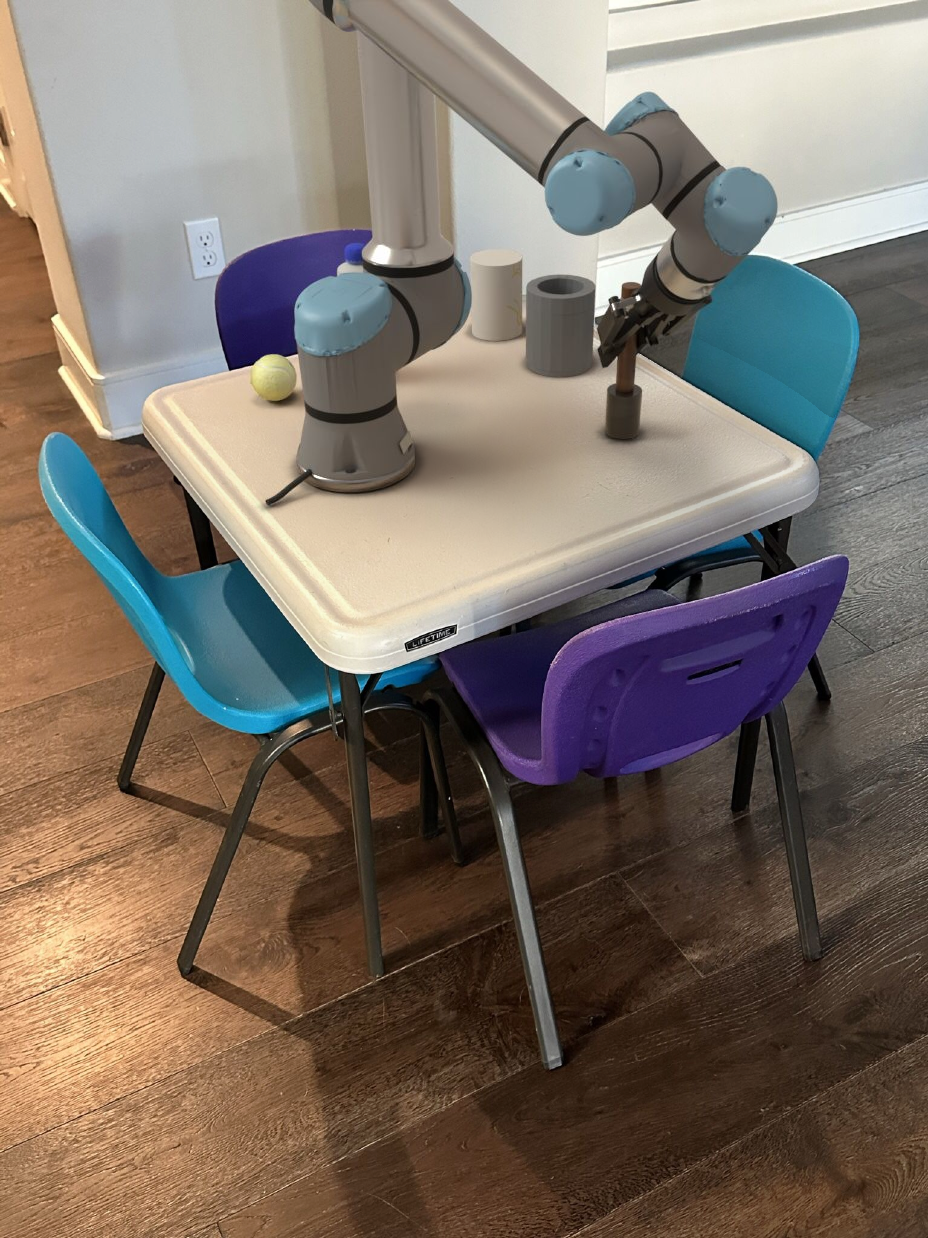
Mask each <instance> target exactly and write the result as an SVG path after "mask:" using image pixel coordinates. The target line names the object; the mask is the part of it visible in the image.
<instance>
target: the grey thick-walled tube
mask: <svg viewBox="0 0 928 1238" xmlns="http://www.w3.org/2000/svg"><path fill="white" fill-rule="evenodd" d="M596 286H597V285H596V284H595V283H594V281H593V280H591V279H589V278H587V277H583V276H580V275H575V274H557V273H556V274H547V275H543V276H539V277H536V278H534V279H530V280H529V281H528V282H527V283H526V287H525V288H526V289H525V365H526V367H527V368H528V369H529V370H530V371H531V372H532V373H535V374H536V375H541V376H545V377H551V378H566V377H574V376H578V375H581V374H583V373H586V372H587V371H590V369H591V368H592V366H593V358H594V356H593V355H594V335H595V334H594V332H595V312H596V311H595V310H596V309H595V307H596Z"/></svg>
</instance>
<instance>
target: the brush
mask: <svg viewBox="0 0 928 1238" xmlns="http://www.w3.org/2000/svg"><path fill="white" fill-rule="evenodd" d="M641 285H642V283H639V282H635V281H627V282H624V283H622V284H621V291H620V292H621V293H620V298H623V300H625V299H627V298H630V297H631V294H632V292H633V291H634V290H636V289H638V288H639V287H640V286H641ZM637 339H638V330H637V331H636V332H635V333H634V334H633V335H631V336H630V337H629V338H628V339H627V340H626V341H625V342H624V344H625V348H624V349H623V350H622V351H621V352H620V353H619V355H618V356H617V357H616V359H617V360H616V372H615V373H616V375H615V383H613V384H610V385H609V386H607V388H606V401H605V402H606V403H605V419H604V432H605V434H606V435H608V436H609V437H611V438H615V439H623V440H625V439H632V438H635V437H637V436H638V435H639V433H640V427H641V413H642V399H643V388H642V387H641V386H640V385H638V384H635V380H636V367H637V366H636V365H637V355H636V353H637Z"/></svg>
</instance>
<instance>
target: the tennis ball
mask: <svg viewBox="0 0 928 1238" xmlns="http://www.w3.org/2000/svg"><path fill="white" fill-rule="evenodd" d="M249 382H250V385H251V386H252V388H253V390H254V391H255V392H256V393H257V394H258V395H259V396H260V398H262V399H264V400H267V401H270V402H271V401H272V402H278V401H282V400H284V399H286V398H288V397H289V396H290V395H291V394H293V392H294V390H295V388H296V385H297V371H296V368H295V367H294V365H293V363H292V362H291V361H290V360H289V358H287V357H286V356H283V355H280V354H277V353H276V354H273V353H272V354H266V355H264V356H262V357H260V359H258V360H257V361H255V363H254V364H253V365H252V367H251V369H250V381H249Z"/></svg>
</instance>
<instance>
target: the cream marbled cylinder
mask: <svg viewBox="0 0 928 1238" xmlns="http://www.w3.org/2000/svg"><path fill="white" fill-rule="evenodd" d="M469 261H470V262H469V263H470V265H469V267H470V285H471V291H472V303H471V309H470V312H471V333H472V336H473V337H475V338H477V339H478V340H479V339H480V340H483V341H490V342H503V341H509V340H512V339H516V338H518V337H520V336H521V335H522V333H523V255H522V253H520V252H519V251H515V250H512V249H506V248H489V249H483V250H480V251H476V252H474V253H473V254H471V255H470V257H469Z"/></svg>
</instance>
